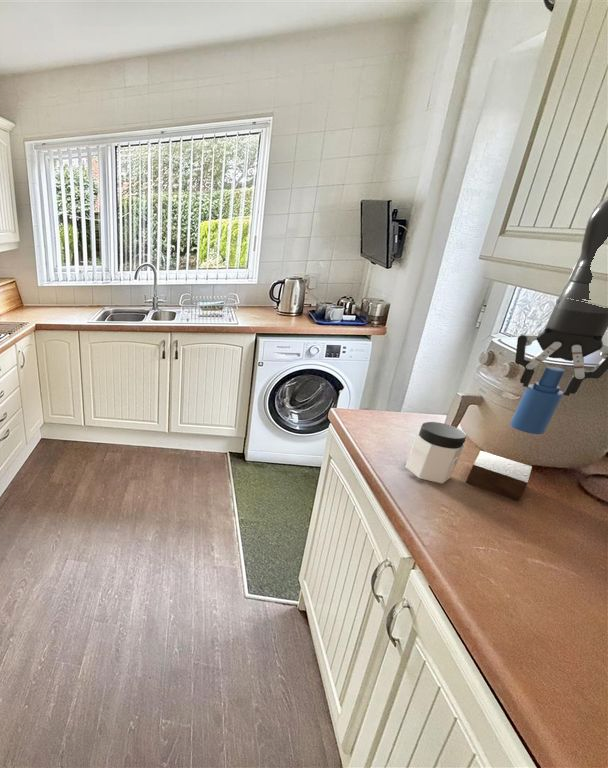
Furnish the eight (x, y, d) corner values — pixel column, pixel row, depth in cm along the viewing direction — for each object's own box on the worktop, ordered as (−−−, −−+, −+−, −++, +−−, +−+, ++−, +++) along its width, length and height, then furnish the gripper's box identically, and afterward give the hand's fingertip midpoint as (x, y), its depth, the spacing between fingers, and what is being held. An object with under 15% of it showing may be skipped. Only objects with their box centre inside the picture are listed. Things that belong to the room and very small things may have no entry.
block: (523, 484, 94) (532, 466, 92) (518, 501, 88) (527, 482, 86) (473, 467, 100) (480, 450, 98) (465, 482, 95) (473, 464, 93)
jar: (439, 487, 93) (457, 443, 88) (400, 470, 99) (414, 427, 94) (455, 475, 97) (473, 432, 92) (416, 459, 103) (431, 418, 99)
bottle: (545, 428, 85) (575, 369, 79) (543, 437, 82) (574, 375, 76) (511, 419, 88) (538, 362, 83) (508, 427, 85) (535, 368, 80)
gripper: (645, 310, 72) (598, 395, 79) (532, 298, 82) (499, 375, 89) (648, 317, 67) (598, 407, 74) (528, 303, 77) (494, 384, 84)
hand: (545, 389), depth 81 cm, fingers closed on bottle, 5 cm apart
